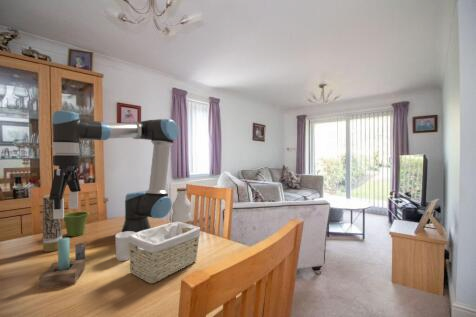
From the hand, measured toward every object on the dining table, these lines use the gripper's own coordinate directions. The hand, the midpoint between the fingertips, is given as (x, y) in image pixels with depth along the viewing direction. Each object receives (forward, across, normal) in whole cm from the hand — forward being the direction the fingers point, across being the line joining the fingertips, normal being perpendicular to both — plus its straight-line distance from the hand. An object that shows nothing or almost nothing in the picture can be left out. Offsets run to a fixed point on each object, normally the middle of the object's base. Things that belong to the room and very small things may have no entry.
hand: (66, 213), depth 80 cm
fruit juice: (+24, -17, +42) cm, 51 cm away
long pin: (+23, +2, 0) cm, 23 cm away
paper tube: (+23, -28, -15) cm, 39 cm away
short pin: (+23, -11, +1) cm, 25 cm away
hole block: (+23, +2, 0) cm, 23 cm away
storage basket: (+23, +4, +34) cm, 42 cm away
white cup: (+23, -9, +18) cm, 31 cm away
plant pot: (+23, -47, -12) cm, 54 cm away
